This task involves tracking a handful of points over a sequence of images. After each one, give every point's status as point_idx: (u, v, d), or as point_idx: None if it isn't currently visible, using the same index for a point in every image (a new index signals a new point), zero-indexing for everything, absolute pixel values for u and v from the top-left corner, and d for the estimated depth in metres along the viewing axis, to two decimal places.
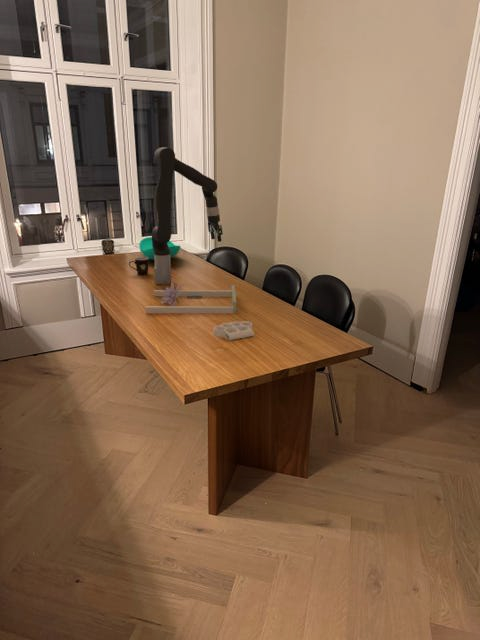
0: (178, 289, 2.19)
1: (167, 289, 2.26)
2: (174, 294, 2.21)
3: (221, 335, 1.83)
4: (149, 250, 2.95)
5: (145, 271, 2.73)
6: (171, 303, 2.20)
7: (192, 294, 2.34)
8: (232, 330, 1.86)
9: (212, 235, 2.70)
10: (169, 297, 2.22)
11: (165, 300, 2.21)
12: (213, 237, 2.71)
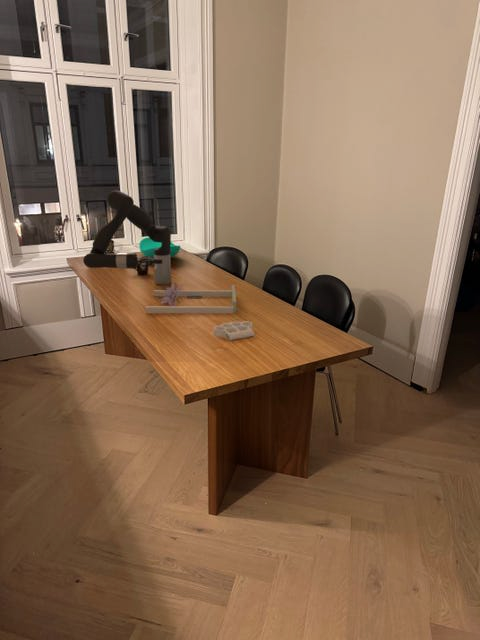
0: (178, 289, 2.19)
1: (168, 289, 2.26)
2: None
3: (221, 335, 1.83)
4: (149, 250, 2.95)
5: (145, 271, 2.73)
6: (171, 303, 2.19)
7: (192, 294, 2.34)
8: (232, 330, 1.86)
9: None
10: (169, 297, 2.22)
11: (165, 300, 2.21)
12: None
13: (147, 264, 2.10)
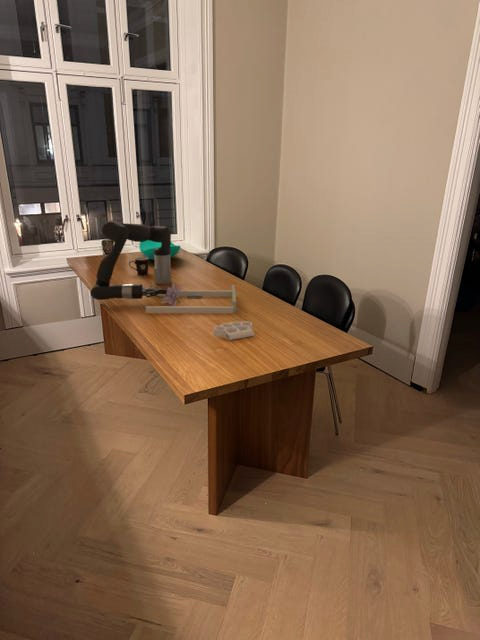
0: (179, 289, 2.19)
1: (168, 289, 2.25)
2: (175, 294, 2.21)
3: (221, 335, 1.83)
4: (149, 250, 2.95)
5: (145, 271, 2.73)
6: (172, 303, 2.19)
7: (192, 294, 2.34)
8: (232, 330, 1.86)
9: None
10: (170, 297, 2.21)
11: (166, 300, 2.21)
12: None
13: (152, 295, 2.16)
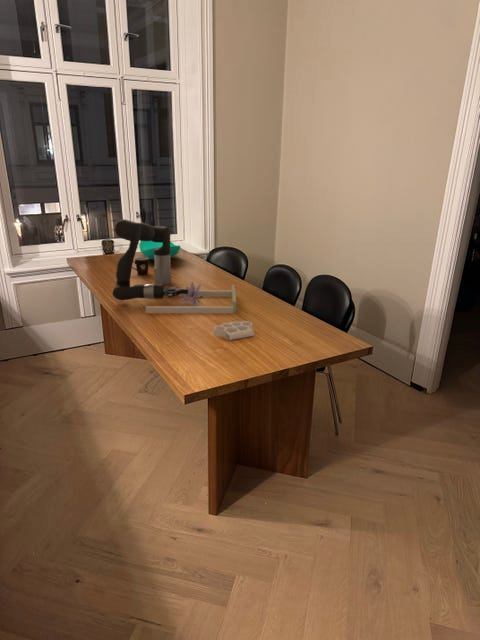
0: (199, 288, 2.21)
1: None
2: (195, 293, 2.23)
3: (221, 335, 1.83)
4: (149, 250, 2.95)
5: (145, 271, 2.73)
6: (193, 302, 2.21)
7: None
8: (232, 330, 1.87)
9: None
10: (190, 296, 2.23)
11: (186, 300, 2.22)
12: None
13: (173, 295, 2.16)
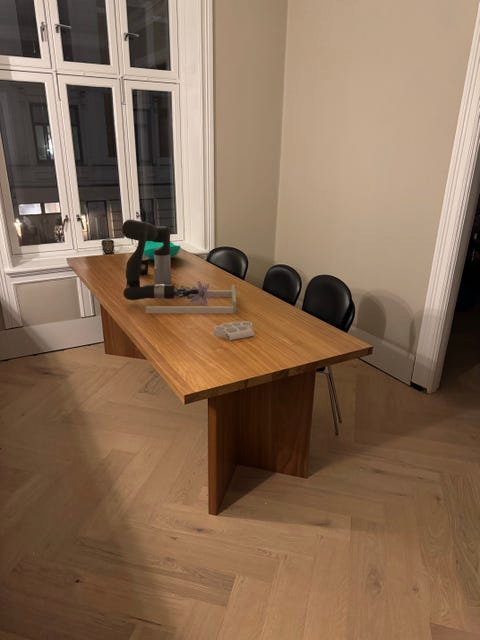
0: (208, 287, 2.23)
1: None
2: None
3: (221, 335, 1.83)
4: (149, 250, 2.95)
5: (145, 271, 2.73)
6: None
7: None
8: (232, 330, 1.87)
9: None
10: (198, 296, 2.24)
11: (195, 300, 2.23)
12: None
13: (184, 295, 2.16)
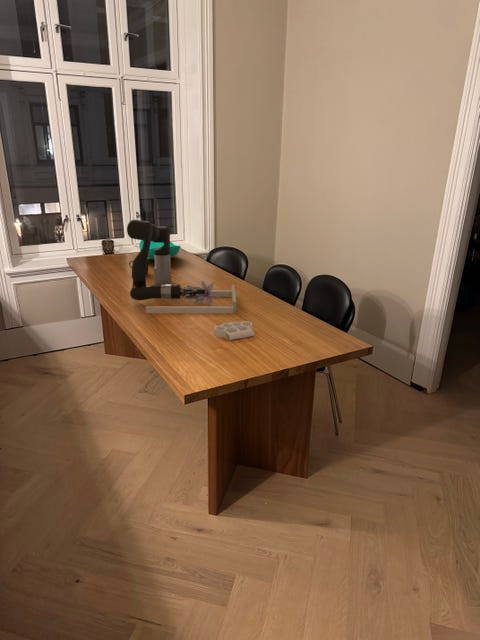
0: (212, 287, 2.24)
1: None
2: None
3: (221, 335, 1.83)
4: (149, 250, 2.95)
5: None
6: None
7: None
8: (232, 330, 1.87)
9: None
10: (203, 296, 2.25)
11: (200, 299, 2.23)
12: None
13: (191, 295, 2.16)
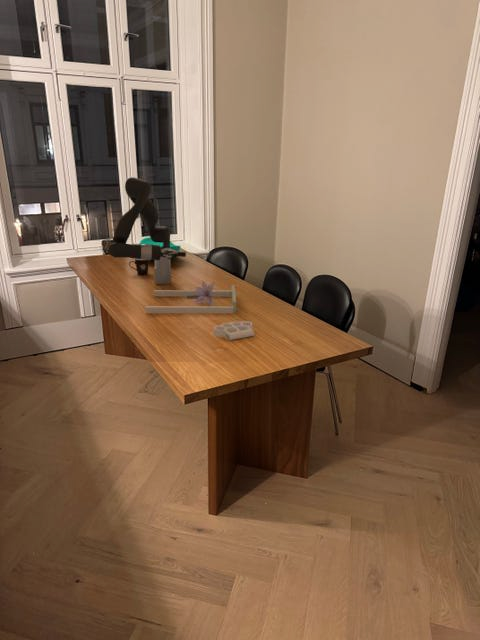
0: None
1: (197, 288, 2.27)
2: None
3: (221, 335, 1.83)
4: None
5: (145, 271, 2.73)
6: None
7: (192, 294, 2.34)
8: (232, 330, 1.87)
9: None
10: (203, 296, 2.25)
11: (200, 299, 2.23)
12: None
13: (172, 257, 2.12)
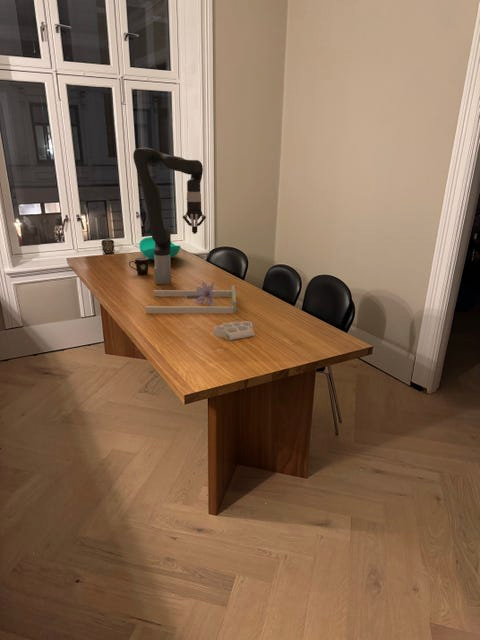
0: None
1: (197, 289, 2.27)
2: (208, 292, 2.25)
3: (221, 335, 1.83)
4: (149, 250, 2.95)
5: (145, 271, 2.73)
6: None
7: (192, 294, 2.34)
8: (232, 330, 1.87)
9: None
10: (204, 296, 2.24)
11: (201, 299, 2.23)
12: None
13: None
